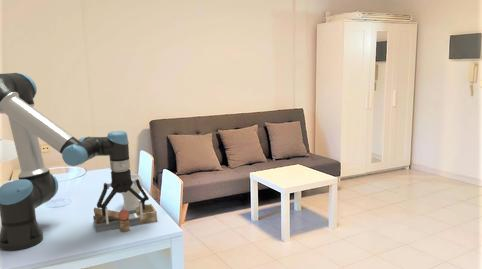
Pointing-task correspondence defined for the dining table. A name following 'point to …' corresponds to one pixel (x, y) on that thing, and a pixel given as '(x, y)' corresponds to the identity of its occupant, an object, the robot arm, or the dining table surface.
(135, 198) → the cup
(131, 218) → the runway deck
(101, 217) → the ramp
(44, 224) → the dining table surface
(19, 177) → the robot arm
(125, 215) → the ball
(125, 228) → the hollow wooden block
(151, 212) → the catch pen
